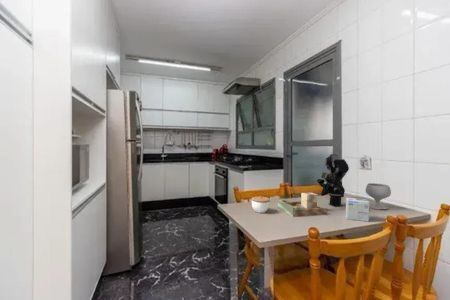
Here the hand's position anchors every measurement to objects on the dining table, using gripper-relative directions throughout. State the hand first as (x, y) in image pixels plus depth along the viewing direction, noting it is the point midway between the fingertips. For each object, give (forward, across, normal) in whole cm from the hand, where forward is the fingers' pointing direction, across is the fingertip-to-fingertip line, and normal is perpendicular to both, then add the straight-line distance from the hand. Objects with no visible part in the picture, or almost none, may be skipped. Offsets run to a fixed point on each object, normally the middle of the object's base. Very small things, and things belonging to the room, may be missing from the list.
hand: (321, 195), depth 145 cm
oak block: (+11, -1, -1) cm, 11 cm away
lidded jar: (+34, -5, -21) cm, 40 cm away
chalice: (-22, +3, +36) cm, 43 cm away
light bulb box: (+1, +19, +12) cm, 23 cm away
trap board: (+16, -1, -3) cm, 16 cm away
